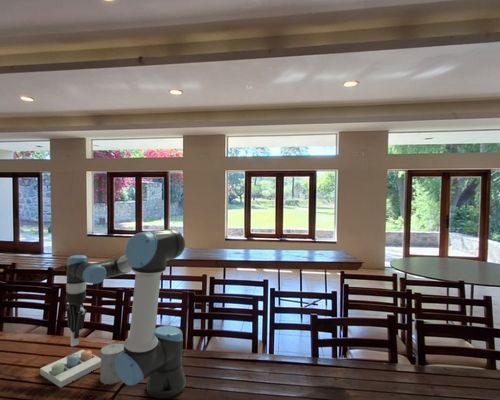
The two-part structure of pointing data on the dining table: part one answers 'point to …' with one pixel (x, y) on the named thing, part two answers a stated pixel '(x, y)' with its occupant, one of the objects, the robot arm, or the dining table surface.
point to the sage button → (57, 369)
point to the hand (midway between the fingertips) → (74, 344)
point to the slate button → (72, 360)
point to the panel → (70, 370)
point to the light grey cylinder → (110, 363)
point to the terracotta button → (86, 355)
